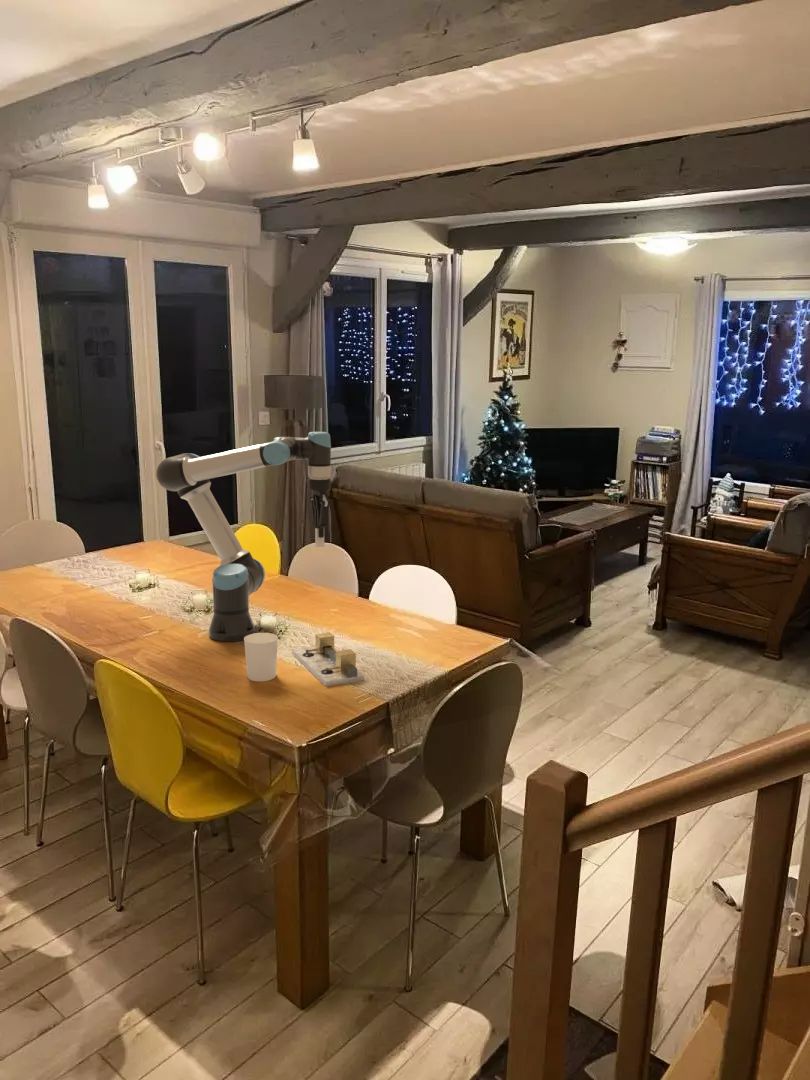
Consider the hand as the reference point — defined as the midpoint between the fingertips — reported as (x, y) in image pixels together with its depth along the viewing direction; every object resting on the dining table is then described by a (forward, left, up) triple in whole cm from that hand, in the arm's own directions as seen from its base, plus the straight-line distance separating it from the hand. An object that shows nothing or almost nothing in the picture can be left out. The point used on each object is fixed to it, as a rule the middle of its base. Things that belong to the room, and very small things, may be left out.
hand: (319, 546), depth 282 cm
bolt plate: (-12, -36, -29) cm, 48 cm away
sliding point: (-11, -27, -28) cm, 40 cm away
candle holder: (-32, -36, -30) cm, 57 cm away
